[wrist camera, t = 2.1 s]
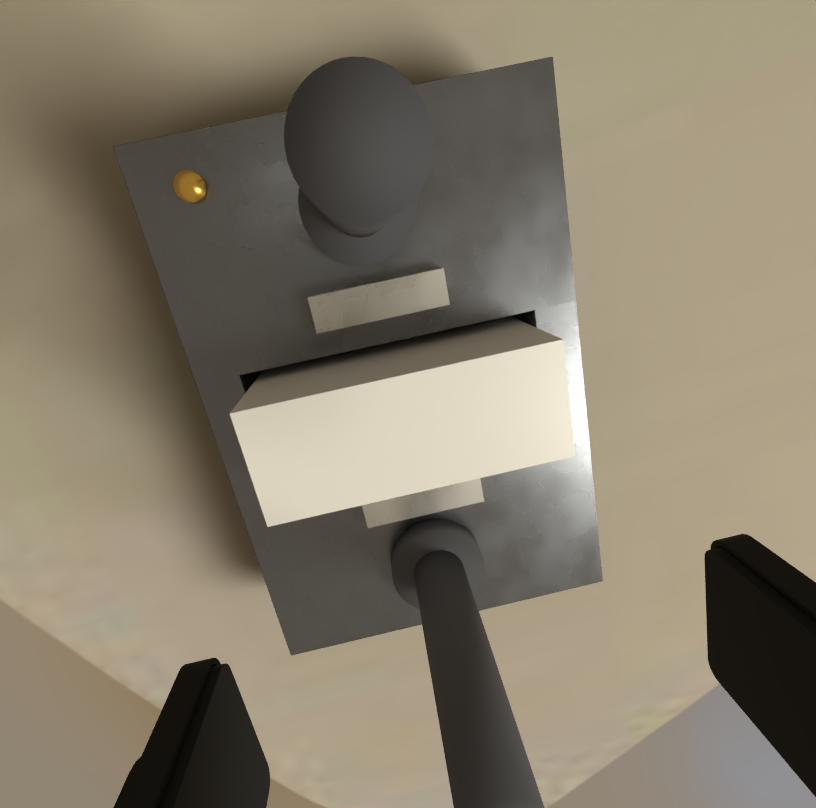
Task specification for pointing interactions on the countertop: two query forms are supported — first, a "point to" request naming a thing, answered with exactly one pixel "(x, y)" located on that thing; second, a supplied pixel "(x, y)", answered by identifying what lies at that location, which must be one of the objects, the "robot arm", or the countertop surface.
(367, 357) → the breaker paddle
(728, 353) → the countertop surface
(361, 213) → the dark grey upright post
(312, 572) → the gray switch control box
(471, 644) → the black toggle lever
